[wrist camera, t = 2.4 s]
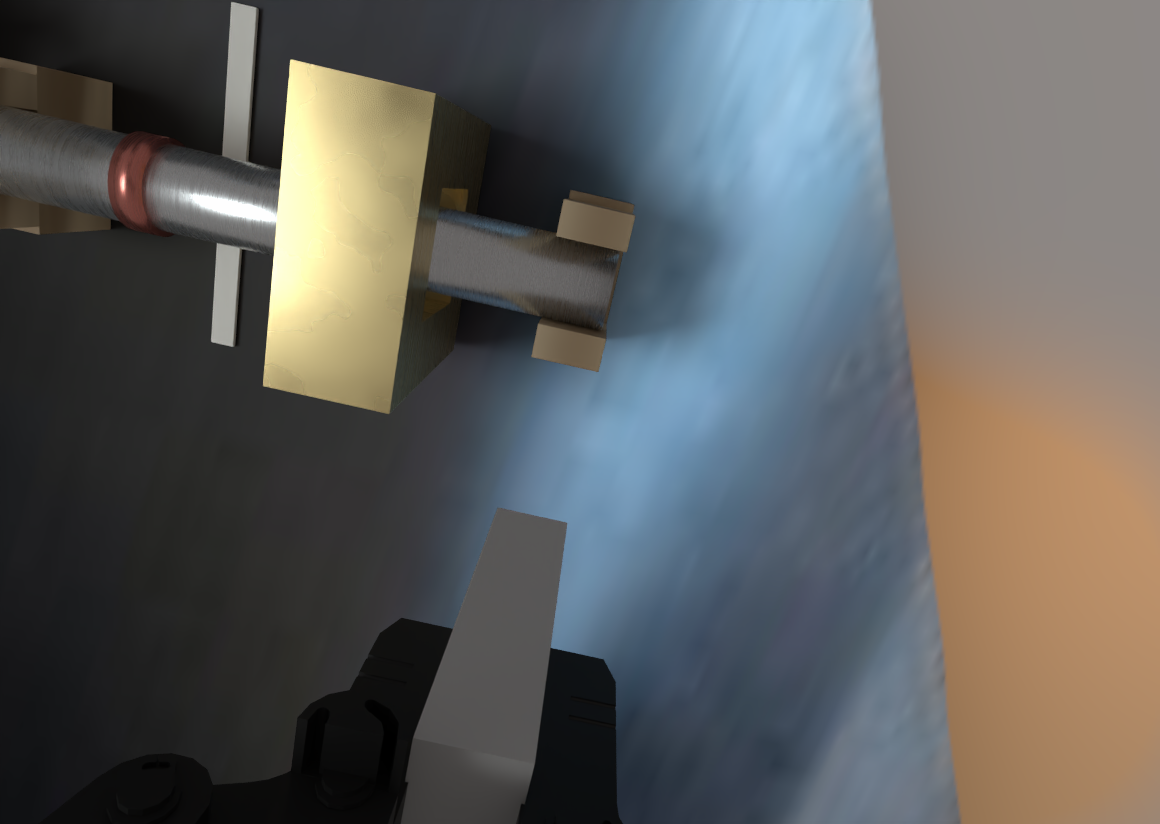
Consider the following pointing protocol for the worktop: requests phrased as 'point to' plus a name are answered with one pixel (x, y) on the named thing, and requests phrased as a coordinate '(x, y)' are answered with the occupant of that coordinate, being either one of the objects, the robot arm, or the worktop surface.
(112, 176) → the pipe
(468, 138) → the collar
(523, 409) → the worktop surface
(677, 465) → the worktop surface
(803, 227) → the worktop surface
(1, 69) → the cradles
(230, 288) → the tick mark
